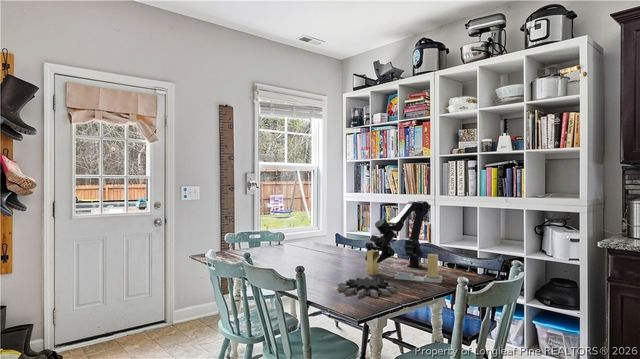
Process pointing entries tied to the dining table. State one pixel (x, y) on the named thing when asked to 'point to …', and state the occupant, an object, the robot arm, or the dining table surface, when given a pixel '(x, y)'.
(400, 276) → the white shallow tray
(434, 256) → the seated billet
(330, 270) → the dining table surface
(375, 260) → the billet
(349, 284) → the decorative piece
